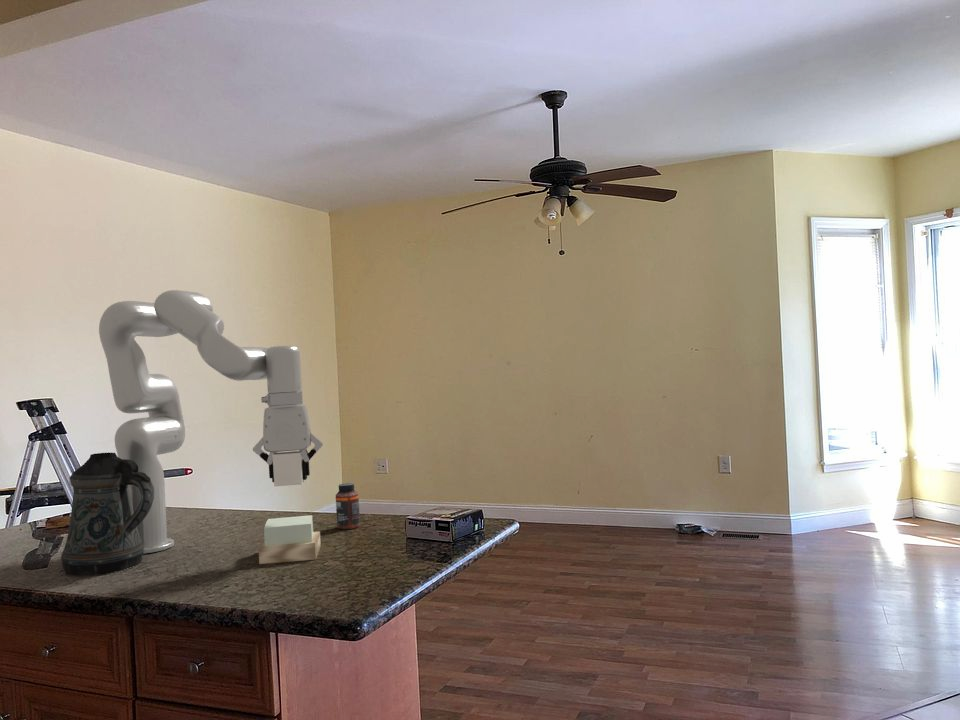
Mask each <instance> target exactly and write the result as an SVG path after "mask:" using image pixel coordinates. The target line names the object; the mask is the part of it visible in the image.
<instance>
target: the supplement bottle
mask: <svg viewBox="0 0 960 720" xmlns="http://www.w3.org/2000/svg"><path fill="white" fill-rule="evenodd" d="M335 511H336V515H335V516H336V526H337V529H339V530H353V529H356V528H359V526H361V517H360V502H359V493H358V492H357V491H356V490H355V484H354V483H353V482H344V483H343V482H342V483H339V484H338V491H337V493H336V494H335Z"/></svg>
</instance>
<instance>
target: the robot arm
mask: <svg viewBox="0 0 960 720" xmlns="http://www.w3.org/2000/svg"><path fill="white" fill-rule="evenodd" d="M224 330H225V322H224V320H223V318H221V316H219V315H217V314H215V313H214V309H213V305H212V302H211V301H210V299H209V298H208V297H207V296H206V295H204V294H203V293H199V292H195V291H188V290H187V291H186V290H178V289H175V290H174V289H171V290H167V291H166V290H165V291H163V292H162V293H160V294H158V296H157V297H156V298H155V300H154V302H145V301H138V300H123V301H118V302H115V303H111V305H109V306H108V307H107V308H106V309H105V310H104V312H103V313H102V315H101V318H100V319H99V325H98V334H99V340H100V342H101V343H100V344H101V346H102V349H103V351H104V355H105V358H106V362H107V367H108V374H109V381H110V385H111V390H112V396H113V400H114V403H115V406H116V408H117V409H118V410H119V411H120V412H121V413H125V414H142V413H148V416H147V417H141V418H140V417H139V418H133V419H130V420H128V421H125V422H123V423H122V424H121V425H120V426H119V427H118V428H117V430H116V431H115V434H114V448H115V451H116V455H117V457H119V458H121V459H128V460H133V461H134V462H135V463H136V464H137V465H138V472H143V473H145V474H146V475H147V476H148V477H149V478H150V480H151V482H152V484H153V486H154V500H153V503H152V506H151V508H150V510H149V512H148V514H147V515H146V517H145V518H144V519H143V521H142V522H141V523H140V524H139V525H138V526H137V530H138V533H139V536H140V539H141V541H142V543H143V545H144V552H143V555H144V554H151V553H157V552H160V551H161V552H162V551H164V550H168V549H170V548H173V546H174V545H175V540H174V539H173V538H169V537H168V533H167V532H168V529H167V527H168V526H167V509H166V507H167V505H166V486H165V474H164V468H163V466H162V464H161V462H160V460H159V458H158V455H165V454H169V453H173V452H174V453H175V451H177V450H179V449H180V448H181V447H182V446H183V444H184V442H185V438H186V427H185V426H186V425H185V421H184V417H183V416H184V415H183V411H182V405H181V400H180V395H179V391H178V389H177V388H178V387H177V386H176V384H175V383H174V381H173V380H172V379H171V378H170V377H169V376H167V375H164V374H160V373H150V372H149V369H148V365H147V360H146V356H145V353H144V350H143V349H142V348H141V346H140V344H138V342H137V341H136V340H135V337H146V338H147V337H151V338H162V337H169V336H173V335H177V334H179V335H181V336H182V337H184V338H186V339H187V340H188V341H189V342H191V343H192V344H193V345H195V346H196V348H197V351H198V353H199V355H200V357H201V359H202V360H203V361H204V362H205V363H206V364H207V365H208V366H209V367H211V368H212V369H213V370H215V371H217V372H218V373H219V374H221V375H222V376H224V377H226V378H228V379H230V380H233V381H237V382H238V381H239V382H241V381H261V380H266V385H267V394H266V395H265V396H261V398H260V399H261V403H263V404H264V403H265V404H267V406H268V407H265V408H264V412H263V422H262V424H263V425H262V428H263V430H262V437H261V439H259V441H257V443H256V444H255V445H254V447H253V448H252V451H253V452H254V453H255V454H256V455H257V456H259V457H260V458H261V459H262V460H263V461H264V462H265V463H266V464H267V465H268V473H269V474H268V475H269V477H268V478H269V479H271V480H272V481H271V482H272V483H274V471H273V454H276V453H277V452H285V451H298V450H299V451H300V452H301V456H302V458H303V462H302V476H303V480H305V481H306V480H307V479H308V476H310V472H311V471H310V460H311V459H312V458H313V457H314V456H315V454H316V453H318V451H319V450H320V449H321V448H322V447H323V445H324V443H323V442H322V441H321V440H320V439H319V438H318V437H317V436H315V435H314V434H313V433H312V432H311V425H310V418H309V413H308V408H307V406H306V405H305V404H304V403H303V402H304V401H303V385H302V384H303V383H302V365H301V351H300V349H299V348H298V347H297V346H295V345H276V346H275V345H274V346H270V347H262V346H261V347H259V346H239V345H237V344H235V343H234V342H232V340H230V339H228V338H226V337H225V336H224V335H223V333H224ZM312 443H313V444H314V446H313V447H312V448H311V450H309V451H308V448H309V447H311V444H312ZM262 447H263V448H262ZM263 449H264V450H263ZM267 452H268V453H269V454H268V453H267ZM129 491H130V496H131V501H132V506H133V512H135V511H136V510H137V508H138V506H139V504H140V501H141V492H140V490H139V488H138V487H137V486H135V485H129Z"/></svg>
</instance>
